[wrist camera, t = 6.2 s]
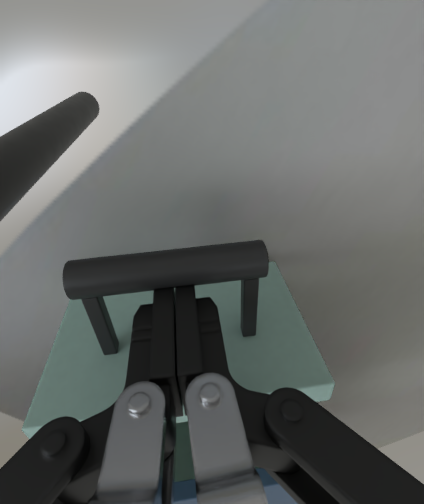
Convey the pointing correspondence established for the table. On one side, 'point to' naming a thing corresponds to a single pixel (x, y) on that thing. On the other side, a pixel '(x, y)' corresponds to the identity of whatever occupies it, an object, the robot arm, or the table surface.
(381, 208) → the table surface
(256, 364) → the drawer
